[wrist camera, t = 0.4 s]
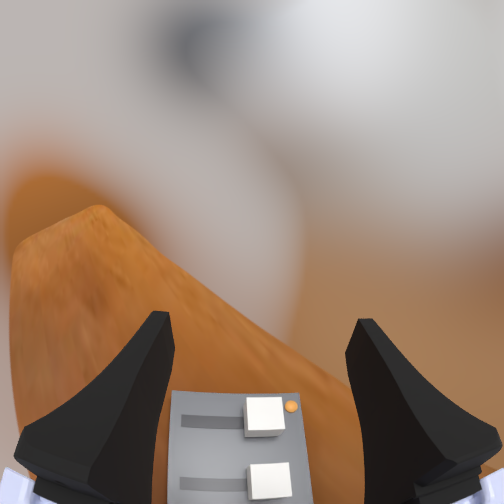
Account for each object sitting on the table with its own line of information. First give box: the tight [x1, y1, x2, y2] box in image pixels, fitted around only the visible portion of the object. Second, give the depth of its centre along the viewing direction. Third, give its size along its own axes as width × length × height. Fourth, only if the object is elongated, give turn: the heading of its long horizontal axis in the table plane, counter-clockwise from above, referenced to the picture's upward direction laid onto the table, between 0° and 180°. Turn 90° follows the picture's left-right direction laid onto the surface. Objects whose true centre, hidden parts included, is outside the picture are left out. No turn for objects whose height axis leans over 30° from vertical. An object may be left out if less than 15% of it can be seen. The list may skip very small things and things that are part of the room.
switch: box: [243, 397, 285, 437], centre depth 24 cm, size 3×3×2 cm
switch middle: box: [247, 462, 292, 500], centre depth 19 cm, size 3×3×2 cm
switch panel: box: [167, 390, 313, 504], centre depth 20 cm, size 20×12×2 cm, turn 3°
